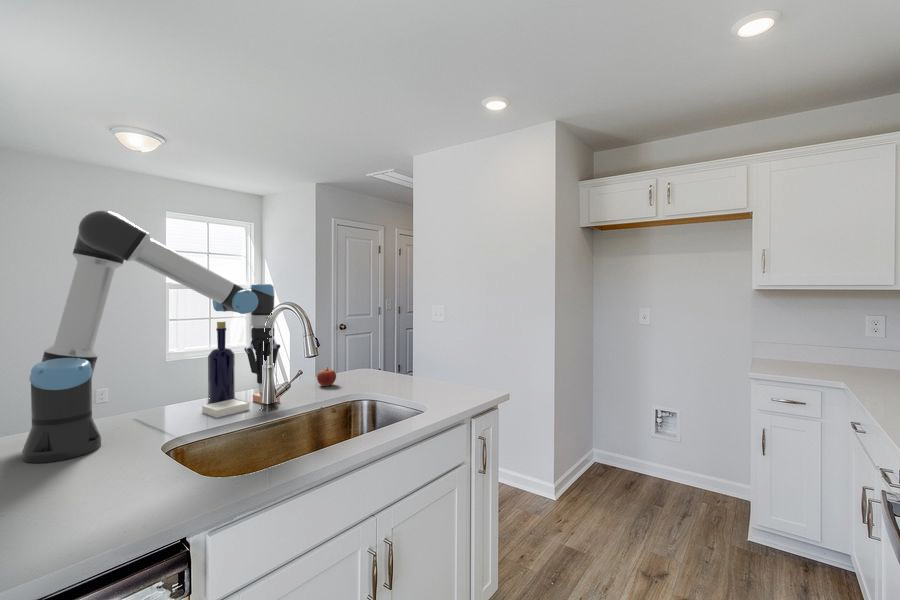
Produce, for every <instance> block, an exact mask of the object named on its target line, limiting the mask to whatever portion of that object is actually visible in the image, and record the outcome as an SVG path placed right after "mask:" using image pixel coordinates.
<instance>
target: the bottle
mask: <svg viewBox="0 0 900 600" xmlns="http://www.w3.org/2000/svg"><path fill="white" fill-rule="evenodd" d="M226 322H227V321H223V320H222V321H216V333H217V338H216V339H217V341H216V342H217V348H215V349H213V350H211V351H210V353H209V354H208V356H207V368H208V369H207V387H208V388H207V397H208V398H207V402H208V403H209V404H212V403H217V402H222V401H226V400H231V399H234V398H235V399H236V363H235V361H236V358H235V357H236V356H235V352H234V351H233V350H232V349H231V348H227V347H226V338H227V337H226V331H227V327H226V326H227V325H226V324H227V323H226ZM209 398H210V399H209Z"/></svg>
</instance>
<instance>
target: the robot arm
mask: <svg viewBox="0 0 900 600" xmlns="http://www.w3.org/2000/svg"><path fill="white" fill-rule="evenodd" d="M75 240H76V241H75V243H74V247H73V251H72V256H73V257H74V258H75V260H76V261H77V262H76V267H75V270H74V274H73V276H72V280H71V283H70V288H69V290H68V295H67V298H66V301H65V305H64V308H63V312H62V315H61V318H60V321H59V322H60V323H59V325H58V329H57V332H56V336H55V339H54V343H53V344H52V345H51V346H49V347H48V348H46V349H44V352H43V355H42V359H41V362H38V363H36V364H34V365H33V366H32V367H31V370H30V375H29V382H30V398H31V400H30V403H31V404H30V405H31V406H30V407H31V410H30V411H31V428H30V431H29V433H28V436H27V438H26V441H25V443H24V445H23V448H22V451H21V452H22V461H23V462H25V463H31V464H32V463H34V464H38V463H52V462H58V461H64V460H70V459H73V458H77V457H80V456H84V455H86V454H89V453H92V452H94V451H96V450H98V449H100V447H101V446H102V436H101V434H100V432H99V429H98V428H97V425H96V423H95V421H94V418H93V391H92V390H93V388H92V381H93V375H94V372H95V371H94V370H95V368H96V364H97V360H98V357H99V355H98V353H97V352H96V351H95V350H94V347H95V343H96V338H97V335H98V332H99V327H100V324H101V320H102V317H103V313H104V310H105V306H106V302H107V299H108V296H109V292H110V288H111V285H112V281H113V277H114V274H115V271H116V269H118V268H120V267H122V266H123V264H124V262H125V261H126V262H131V261H134V262H136V263H138V264H140V265H141V266H142V265H143V266H144V267H147V268H148V269H150V270H152V271H154V272H155V273H158V274H160V275H162V276H165V277H167V278H168V279H171V280H172V281H175V282H176V283H178V284H180V285H183V286H185V287H186V288H188V289H190V290H192V291H195V292H196V293H198V294H200V295H203V296H204V297H206V298H208V299H211V300H212V307H213V310H214V311H216V312H224V313H225V312H232V313H233V312H234V313H239V314H240V315H245V314H250V315H251V316H250V317H251V318H250V319H251V320H250V326H251V329H250V330H251V336H250V337H251V342H250V345H249V346H247V347H245V348H244V351H245V353H246V354H247V355H246V356H247V358H248V359H247V360H248V362H249V363H248V364H249V367H250V372H251V374H255V375H256V381H257V382H256V383H257V384H258V393H259V392H262V388H263V386H262V365H263V355H264V360H265V361H266V360H267V356H269V355H270V354H271V350H270V342H269V338H272V336H270V335H269V331H270V330H271V328H269V326H271V324H272V322H271V323H270V320H271V319H270V316H271V315H272V313H271V312H272V310H273V309H274V310H275V292H274V291H275V290H274V285H272V284H271V283H252V284H251V285H250V288H247V289H245V288H243V287H242V286H239V285H238V284H235V282H233V281H231V280H229V279H227V278H225V277H223V276H221V275H219V274H217V273H216V272H214V271H212V270H210V269H209V268H206V266H203V265H201V264H199V263H197V262H195V261H194V260H193V259H191V258H188V257H186V256H184V255H183V254H181V253H179V252H177V251H175V250H174V249H172V248H170V247H168V246H166V245H164V244H162V243H161V242H159V241H157V240H155V239H153V238H152V237H151V236H150V234H149V232H148V231H146V230H144V229H142V228H141V227H139V226H138V225H135V224H134V223H133V222H131V221H129V220H128V219H127V218H125V217H124V216H122V215H120V214H119V213H116V212H113V211H111V210H110V211H109V210H96V211H93V212H90V213H88V214H86V215H85V216H84V217H82V219H81V220H80V222H79V225H78V234H77V237H76V239H75ZM270 313H271V315H270ZM269 315H270V316H269ZM268 316H269V318H268ZM267 319H268V320H267ZM266 321H267V323H266ZM268 321H269V322H268ZM265 323H266V326H265ZM264 328H265V332H264ZM274 337H275V327H273V363H274V369H275V367H276V362H277V357H278V352H279V350H280V348H281V345H280V344H279V343H276V342H275V339H274ZM267 338H268V339H267ZM263 341H264V351H263ZM261 386H262V388H261Z"/></svg>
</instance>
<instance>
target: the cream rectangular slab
mask: <svg viewBox="0 0 900 600" xmlns="http://www.w3.org/2000/svg"><path fill="white" fill-rule="evenodd" d="M201 409H202V410H201V412H202V414H204V415H207V416H210V417H214V418H220V417H224V416H225V417H226V416H229V415H234V414H237V413H241V412H246V411H248V410H250V402H249V401H244V400H241V399H239V398H238V399H237V398H236V397H235V398H234V399H231V400H226V401H222V402H217V403H209V404H204V405H202V406H201Z"/></svg>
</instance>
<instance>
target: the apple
mask: <svg viewBox="0 0 900 600" xmlns="http://www.w3.org/2000/svg"><path fill="white" fill-rule="evenodd" d="M336 379H337V373H336V372H335V370H333V369H331V368H330V369H329V367H326V368H325V369H321V370H319V371H318V373H317V376H316V380H317V382H318V383H317V384H319V385H320V386H322V387H326V386H327V387H330V386H333V385H334V383H335V381H336ZM329 385H330V386H329Z"/></svg>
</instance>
